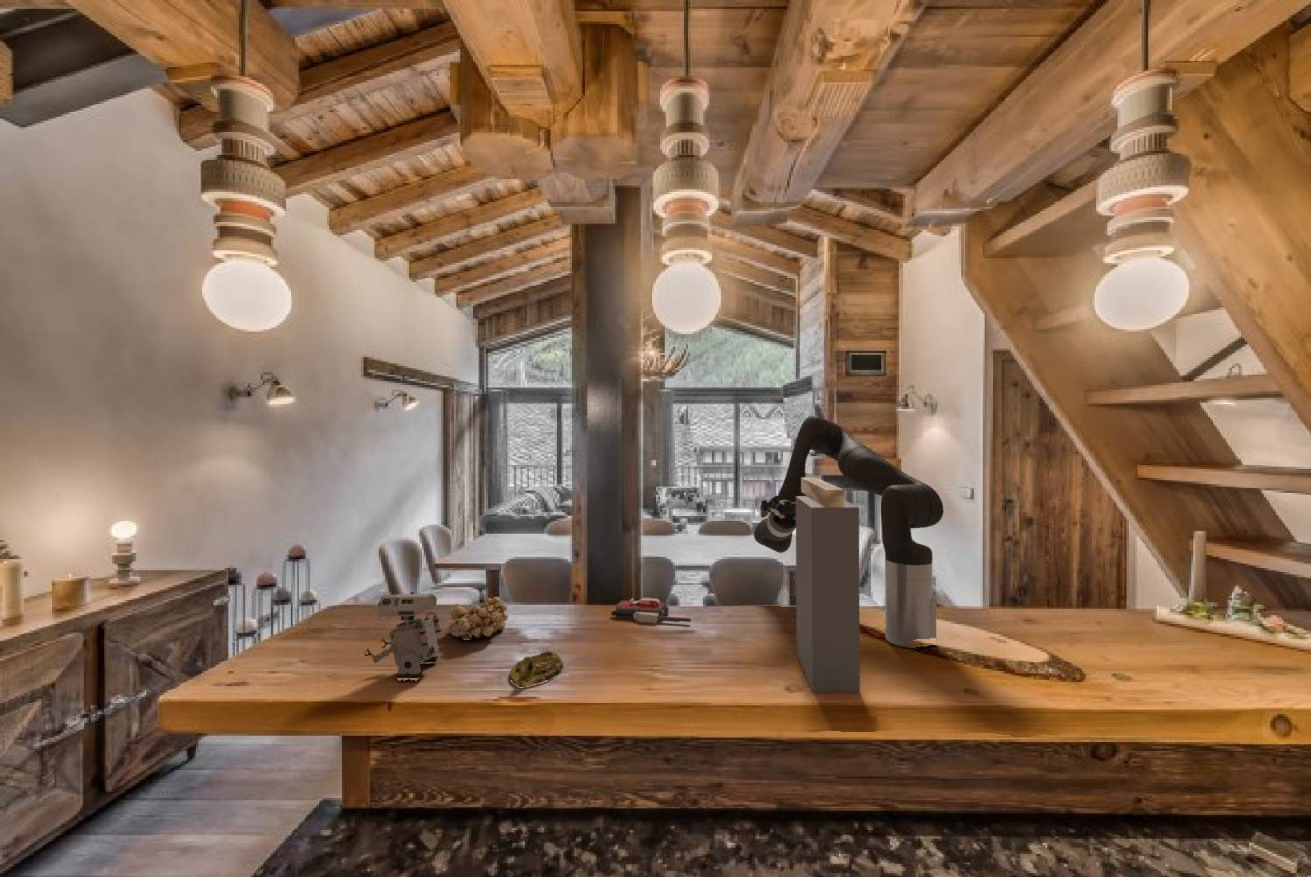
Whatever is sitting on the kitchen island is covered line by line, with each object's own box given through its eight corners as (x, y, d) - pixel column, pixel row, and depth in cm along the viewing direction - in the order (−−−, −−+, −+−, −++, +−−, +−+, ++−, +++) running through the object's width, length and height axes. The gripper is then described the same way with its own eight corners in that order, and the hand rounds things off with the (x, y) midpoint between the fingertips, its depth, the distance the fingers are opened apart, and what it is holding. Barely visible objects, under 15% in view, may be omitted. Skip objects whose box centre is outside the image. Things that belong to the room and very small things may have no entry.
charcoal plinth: (837, 656, 117) (836, 496, 117) (859, 692, 101) (859, 507, 101) (796, 655, 118) (795, 496, 117) (812, 691, 102) (811, 507, 101)
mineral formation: (512, 624, 138) (503, 643, 124) (454, 637, 137) (438, 658, 122) (506, 590, 139) (496, 605, 124) (448, 603, 137) (431, 619, 122)
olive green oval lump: (527, 662, 120) (498, 694, 105) (524, 639, 120) (495, 668, 105) (571, 658, 119) (549, 690, 104) (568, 635, 119) (545, 664, 104)
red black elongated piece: (607, 622, 141) (690, 627, 136) (607, 603, 141) (690, 608, 136) (618, 610, 149) (696, 615, 145) (618, 593, 149) (696, 598, 145)
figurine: (387, 663, 117) (386, 588, 116) (445, 662, 117) (444, 587, 116) (364, 683, 108) (362, 601, 107) (427, 682, 107) (425, 601, 107)
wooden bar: (815, 491, 125) (815, 477, 125) (844, 507, 101) (844, 490, 101) (801, 491, 125) (801, 477, 125) (826, 507, 101) (826, 490, 101)
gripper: (754, 505, 153) (764, 483, 139) (809, 505, 153) (824, 483, 138) (756, 533, 150) (766, 514, 136) (812, 533, 150) (828, 514, 135)
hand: (796, 499), depth 137 cm, fingers open, 8 cm apart
